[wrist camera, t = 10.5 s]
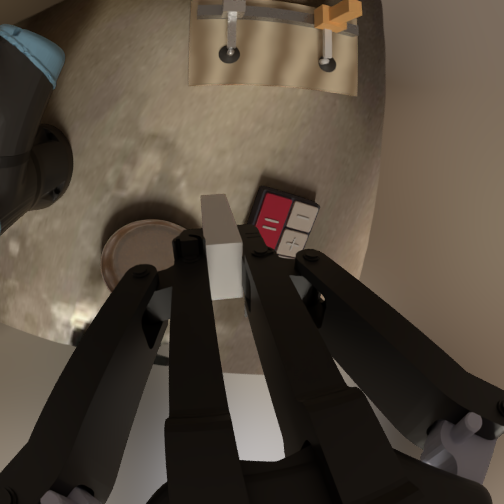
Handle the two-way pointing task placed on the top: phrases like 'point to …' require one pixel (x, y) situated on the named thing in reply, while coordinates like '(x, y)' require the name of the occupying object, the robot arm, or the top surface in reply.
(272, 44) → the hole plate
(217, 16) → the rail
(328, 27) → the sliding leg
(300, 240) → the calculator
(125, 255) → the plant saucer
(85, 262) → the top surface
